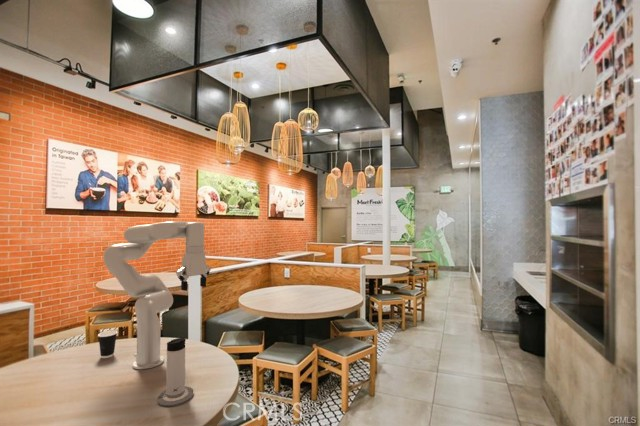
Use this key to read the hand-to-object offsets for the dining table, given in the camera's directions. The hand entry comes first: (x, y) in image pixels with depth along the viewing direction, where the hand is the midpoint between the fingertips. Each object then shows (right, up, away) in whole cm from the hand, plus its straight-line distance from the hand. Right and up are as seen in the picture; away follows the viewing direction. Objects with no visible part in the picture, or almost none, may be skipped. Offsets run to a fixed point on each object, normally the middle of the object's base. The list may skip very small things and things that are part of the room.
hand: (194, 288), depth 137 cm
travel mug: (+3, -34, -23) cm, 41 cm away
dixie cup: (-48, -37, +14) cm, 62 cm away
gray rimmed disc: (+3, -35, -23) cm, 42 cm away
